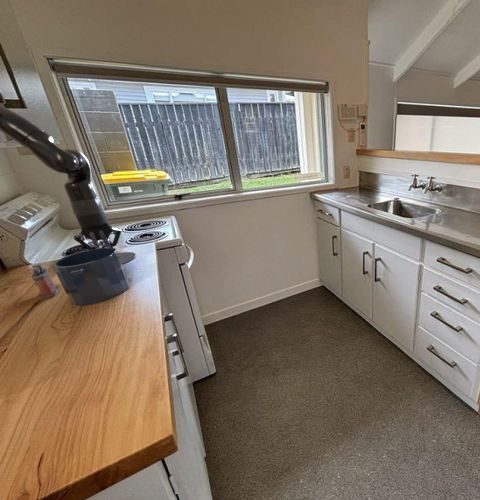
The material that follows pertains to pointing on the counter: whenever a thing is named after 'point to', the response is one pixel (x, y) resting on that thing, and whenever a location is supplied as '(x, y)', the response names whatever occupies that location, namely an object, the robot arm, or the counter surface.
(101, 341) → the counter surface
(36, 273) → the lighter
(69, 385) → the counter surface
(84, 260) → the pot
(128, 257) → the pot lid
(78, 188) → the robot arm
